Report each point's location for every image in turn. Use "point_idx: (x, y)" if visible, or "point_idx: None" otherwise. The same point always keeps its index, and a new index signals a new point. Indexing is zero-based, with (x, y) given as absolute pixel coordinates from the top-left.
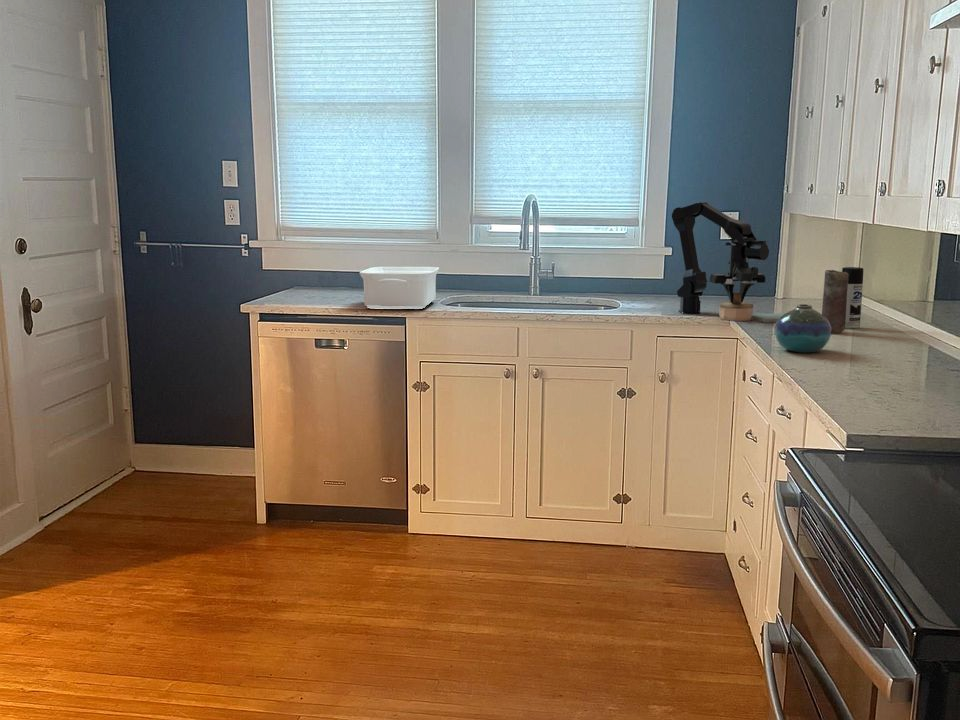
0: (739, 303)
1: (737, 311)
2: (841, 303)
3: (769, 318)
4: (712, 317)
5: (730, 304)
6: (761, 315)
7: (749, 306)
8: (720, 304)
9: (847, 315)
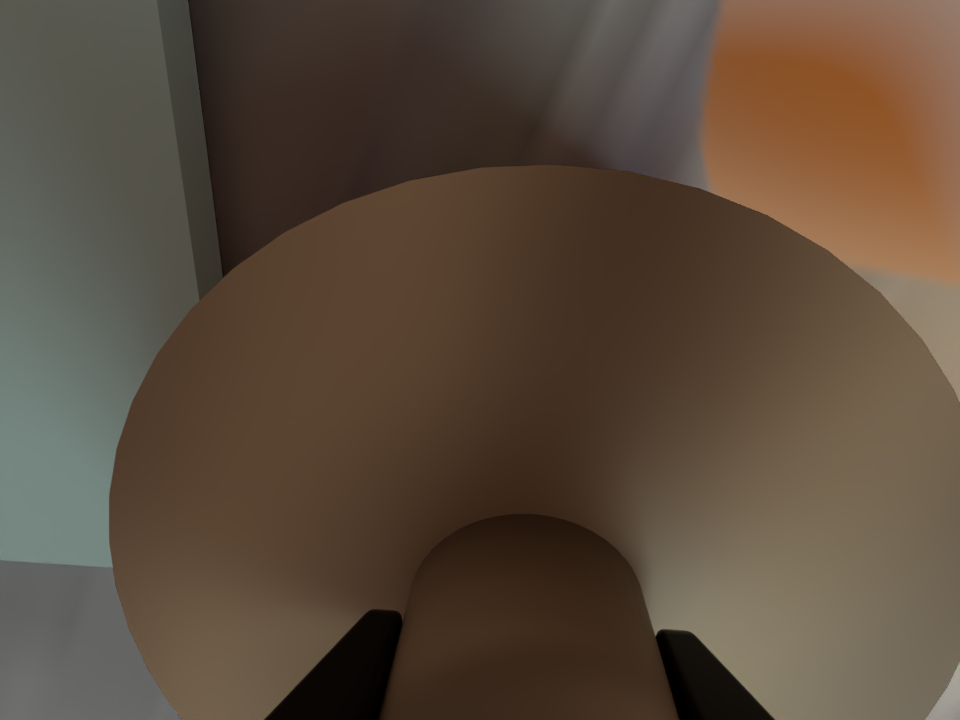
0: (490, 535)
1: None
2: None
3: (13, 40)
4: None
5: (718, 581)
6: (82, 421)
7: (309, 223)
8: (956, 654)
9: None
